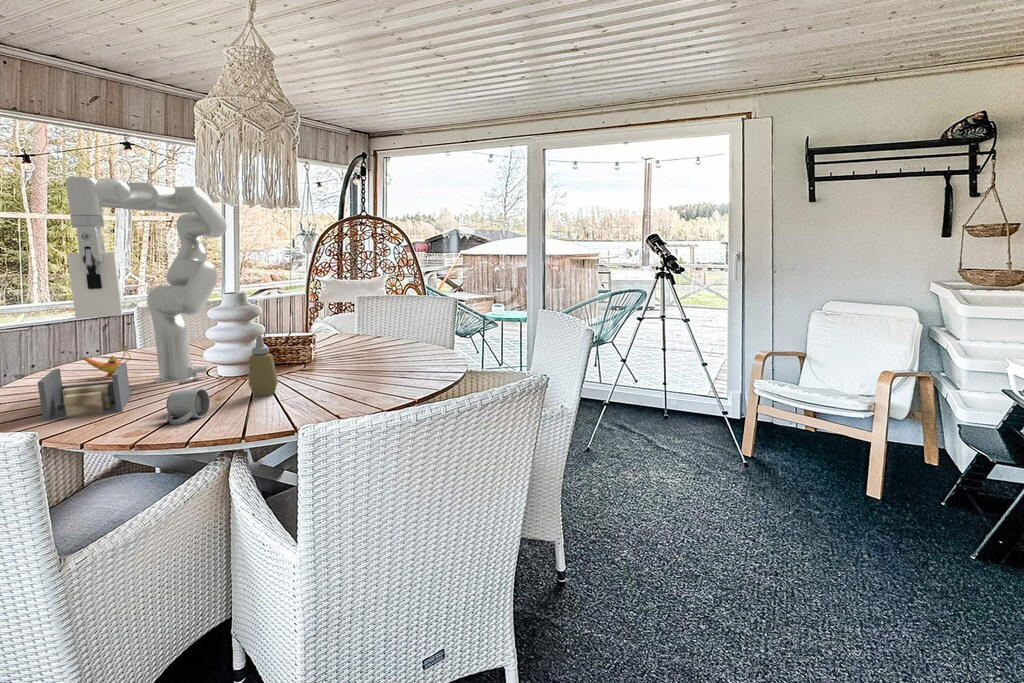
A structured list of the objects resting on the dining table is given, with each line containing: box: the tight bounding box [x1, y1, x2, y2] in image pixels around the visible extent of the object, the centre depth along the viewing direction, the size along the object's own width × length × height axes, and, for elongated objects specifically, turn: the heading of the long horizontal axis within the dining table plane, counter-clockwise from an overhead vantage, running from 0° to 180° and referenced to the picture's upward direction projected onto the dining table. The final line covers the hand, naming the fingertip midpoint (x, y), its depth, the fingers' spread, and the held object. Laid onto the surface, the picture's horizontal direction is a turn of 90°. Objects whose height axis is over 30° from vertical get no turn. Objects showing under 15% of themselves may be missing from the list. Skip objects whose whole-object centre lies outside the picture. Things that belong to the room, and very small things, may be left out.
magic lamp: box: [79, 344, 132, 377], centre depth 211 cm, size 7×18×11 cm, turn 88°
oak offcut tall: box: [62, 384, 112, 413], centre depth 165 cm, size 10×3×6 cm, turn 115°
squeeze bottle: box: [248, 334, 279, 398], centre depth 182 cm, size 8×8×18 cm
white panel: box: [66, 251, 124, 319], centre depth 174 cm, size 11×3×18 cm, turn 115°
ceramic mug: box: [165, 388, 211, 425], centre depth 159 cm, size 11×8×8 cm
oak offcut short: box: [64, 391, 105, 416], centre depth 161 cm, size 8×3×5 cm, turn 115°
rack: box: [37, 362, 131, 422], centre depth 166 cm, size 17×18×12 cm
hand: (96, 287), depth 174 cm, fingers closed on white panel, 3 cm apart
